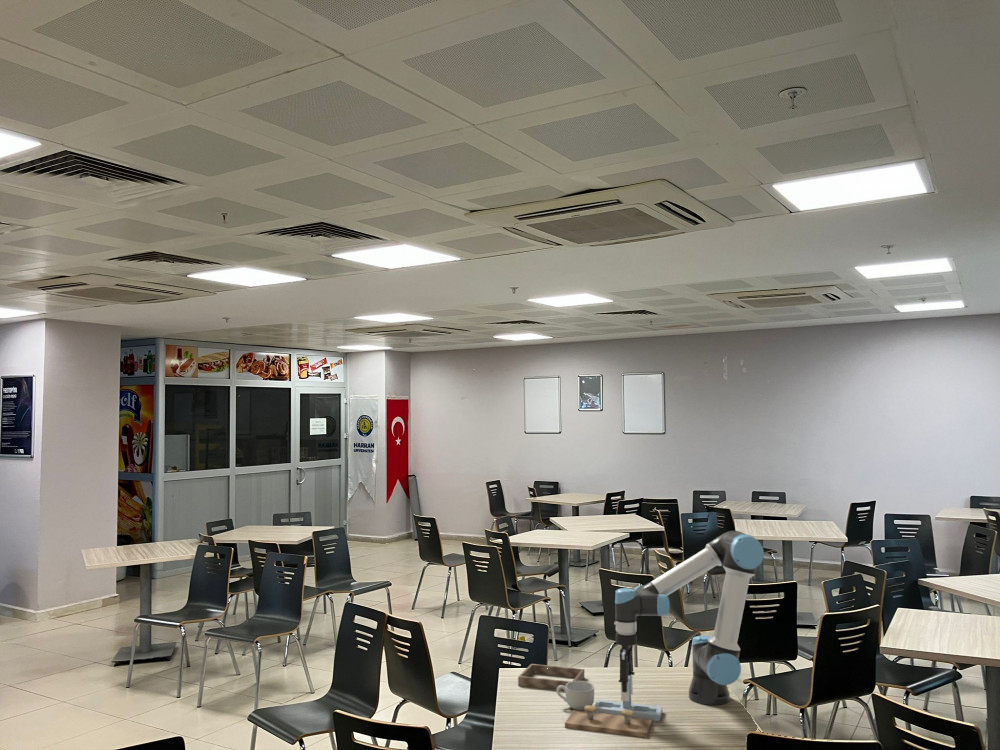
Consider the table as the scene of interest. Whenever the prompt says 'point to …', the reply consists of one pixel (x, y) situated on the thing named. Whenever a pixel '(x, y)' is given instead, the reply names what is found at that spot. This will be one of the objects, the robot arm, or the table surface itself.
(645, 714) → the blue post stand
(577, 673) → the open brown wooden frame
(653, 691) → the table surface
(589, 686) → the teacup
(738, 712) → the table surface
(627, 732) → the boss board
